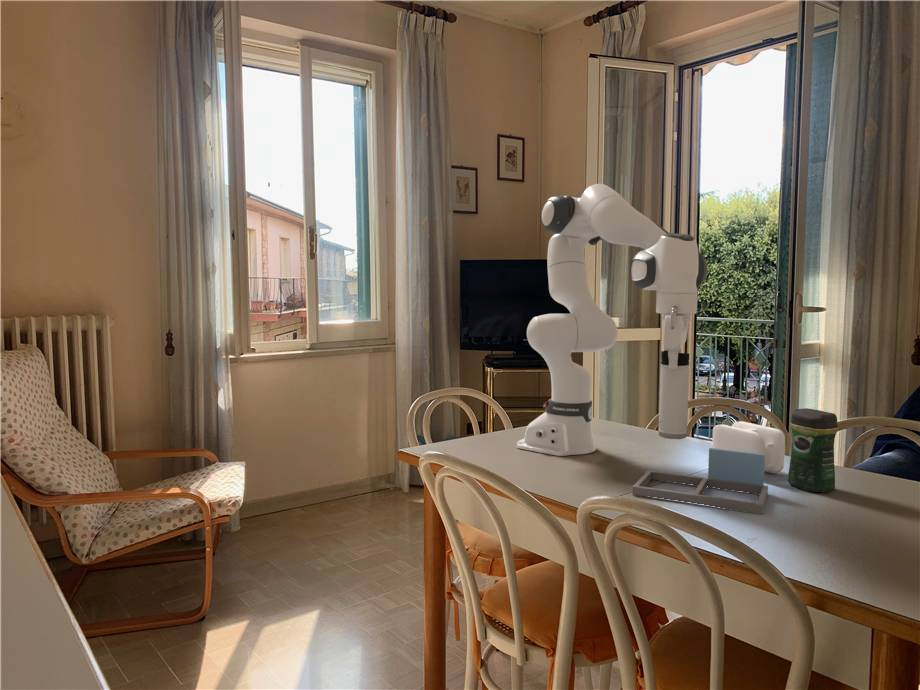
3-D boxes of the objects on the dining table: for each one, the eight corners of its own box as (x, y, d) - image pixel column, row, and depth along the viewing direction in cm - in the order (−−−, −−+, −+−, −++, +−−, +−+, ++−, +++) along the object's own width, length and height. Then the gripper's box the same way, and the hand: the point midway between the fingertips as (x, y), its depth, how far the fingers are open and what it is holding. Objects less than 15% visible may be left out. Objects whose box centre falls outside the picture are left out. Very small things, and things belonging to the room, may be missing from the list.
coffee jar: (841, 491, 159) (845, 412, 158) (817, 495, 156) (821, 414, 154) (805, 480, 168) (808, 404, 166) (781, 484, 165) (785, 407, 163)
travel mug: (652, 436, 159) (654, 349, 157) (668, 431, 163) (670, 347, 161) (676, 440, 154) (679, 351, 152) (692, 436, 158) (695, 349, 156)
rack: (632, 495, 157) (633, 456, 156) (649, 476, 171) (650, 441, 170) (761, 514, 144) (763, 472, 143) (768, 493, 158) (769, 454, 157)
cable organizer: (708, 466, 180) (709, 422, 179) (736, 461, 185) (737, 419, 184) (756, 481, 167) (758, 434, 166) (785, 475, 172) (787, 429, 171)
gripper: (688, 308, 145) (686, 373, 146) (693, 304, 164) (691, 362, 165) (657, 307, 147) (655, 371, 149) (665, 303, 166) (663, 360, 167)
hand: (674, 366), depth 157 cm, fingers closed on travel mug, 6 cm apart
